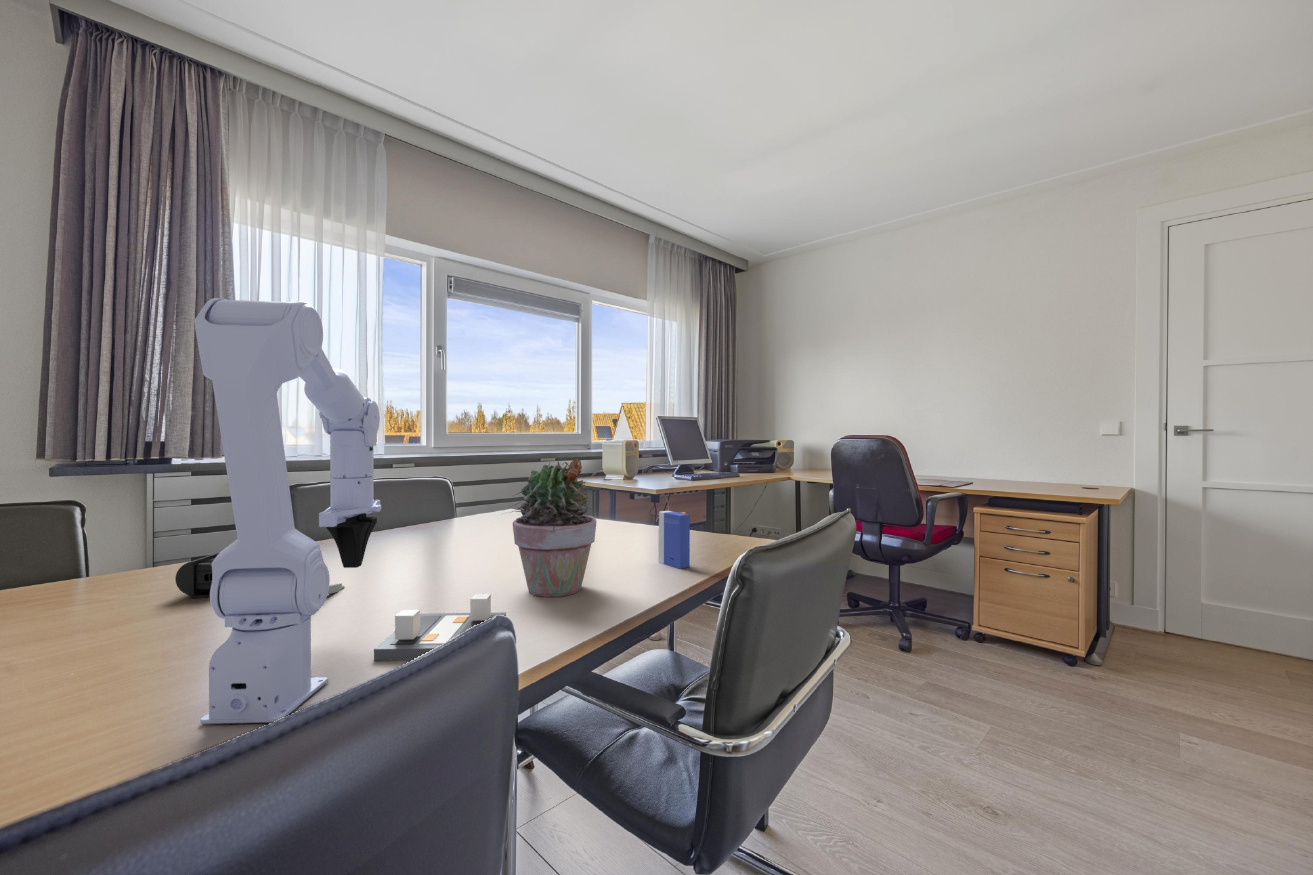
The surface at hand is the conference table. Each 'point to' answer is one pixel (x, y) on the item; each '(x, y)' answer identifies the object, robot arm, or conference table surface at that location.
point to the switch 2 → (480, 607)
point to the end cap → (196, 577)
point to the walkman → (674, 539)
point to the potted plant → (554, 530)
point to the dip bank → (426, 636)
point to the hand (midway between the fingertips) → (352, 566)
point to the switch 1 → (407, 624)
